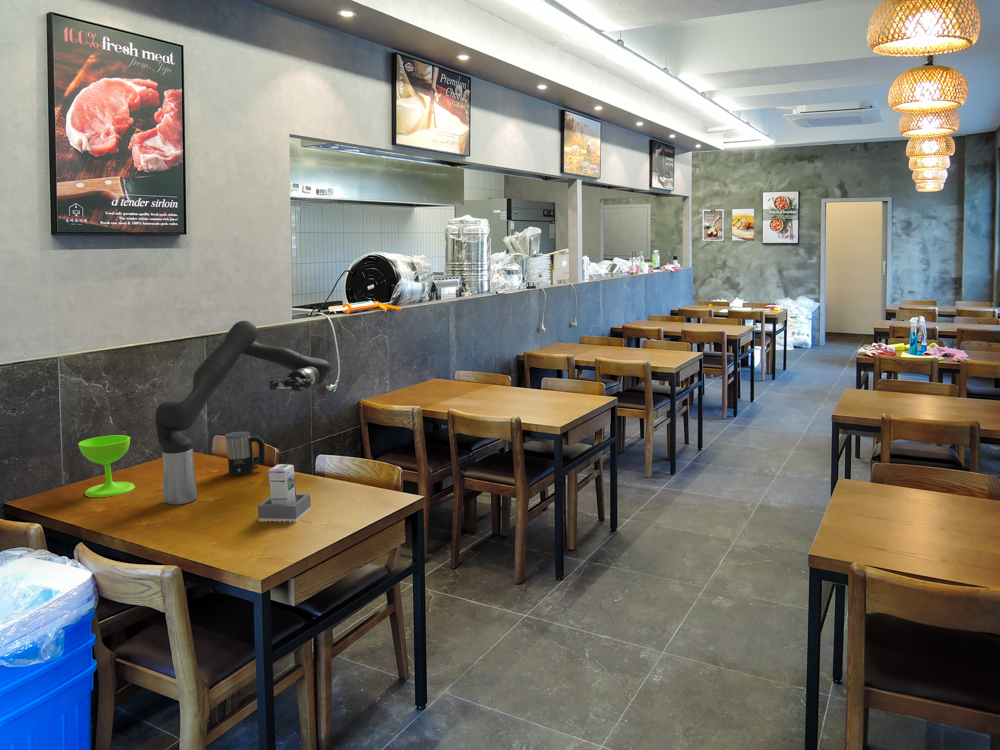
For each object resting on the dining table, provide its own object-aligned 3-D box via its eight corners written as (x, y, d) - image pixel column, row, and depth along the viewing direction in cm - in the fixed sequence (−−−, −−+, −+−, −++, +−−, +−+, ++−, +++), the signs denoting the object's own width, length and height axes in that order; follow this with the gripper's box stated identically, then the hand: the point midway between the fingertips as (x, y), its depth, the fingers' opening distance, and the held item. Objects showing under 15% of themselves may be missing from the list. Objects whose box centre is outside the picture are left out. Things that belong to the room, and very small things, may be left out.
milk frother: (230, 477, 278) (226, 438, 276) (223, 467, 292) (219, 429, 290) (269, 471, 285) (266, 432, 283) (261, 462, 299) (258, 425, 296)
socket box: (258, 521, 230) (257, 505, 229) (275, 508, 242) (274, 493, 241) (296, 522, 229) (295, 506, 228) (311, 509, 240) (310, 493, 240)
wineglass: (143, 483, 273) (138, 434, 271) (122, 497, 258) (117, 445, 255) (98, 484, 273) (92, 436, 270) (74, 498, 257) (68, 447, 254)
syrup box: (289, 515, 232) (286, 469, 230) (271, 514, 233) (268, 468, 231) (297, 509, 238) (294, 464, 235) (280, 508, 239) (276, 463, 236)
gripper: (282, 369, 277) (262, 376, 261) (319, 369, 275) (302, 376, 259) (283, 389, 278) (264, 397, 262) (320, 389, 276) (303, 397, 260)
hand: (283, 387), depth 261 cm, fingers open, 8 cm apart
